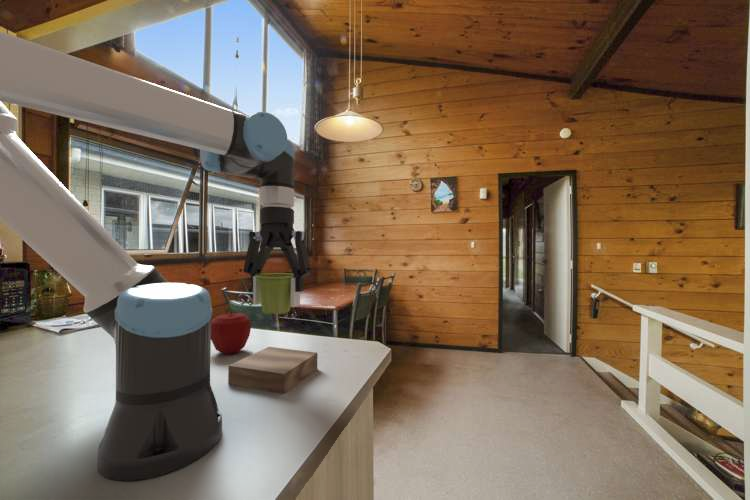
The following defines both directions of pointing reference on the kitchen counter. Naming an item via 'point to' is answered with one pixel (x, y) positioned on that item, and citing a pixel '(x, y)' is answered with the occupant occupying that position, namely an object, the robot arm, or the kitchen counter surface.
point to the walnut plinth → (273, 369)
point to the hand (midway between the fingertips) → (276, 304)
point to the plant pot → (275, 292)
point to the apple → (230, 332)
